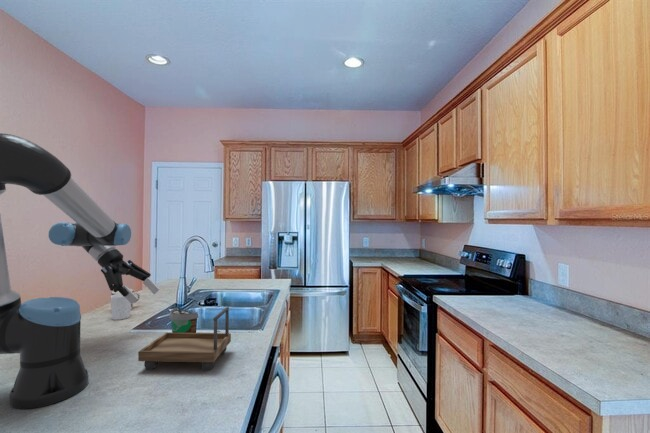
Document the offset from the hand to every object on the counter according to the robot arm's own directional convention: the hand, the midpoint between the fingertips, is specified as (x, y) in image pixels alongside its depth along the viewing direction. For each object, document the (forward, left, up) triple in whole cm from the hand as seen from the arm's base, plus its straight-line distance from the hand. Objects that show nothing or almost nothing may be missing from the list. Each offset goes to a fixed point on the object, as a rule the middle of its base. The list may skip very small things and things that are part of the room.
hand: (146, 296), depth 115 cm
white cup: (+23, +25, -16) cm, 38 cm away
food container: (0, -13, -16) cm, 20 cm away
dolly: (-17, -24, -15) cm, 33 cm away
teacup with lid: (+35, +31, -16) cm, 50 cm away
